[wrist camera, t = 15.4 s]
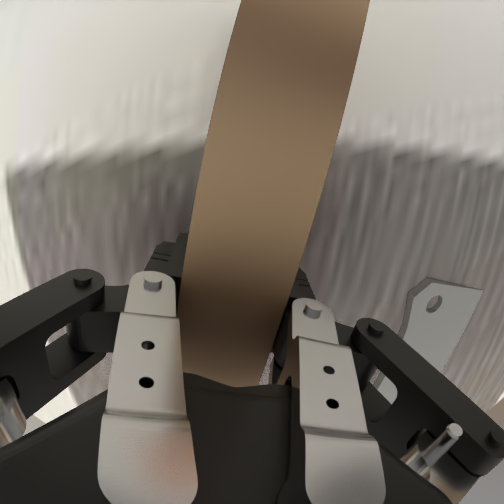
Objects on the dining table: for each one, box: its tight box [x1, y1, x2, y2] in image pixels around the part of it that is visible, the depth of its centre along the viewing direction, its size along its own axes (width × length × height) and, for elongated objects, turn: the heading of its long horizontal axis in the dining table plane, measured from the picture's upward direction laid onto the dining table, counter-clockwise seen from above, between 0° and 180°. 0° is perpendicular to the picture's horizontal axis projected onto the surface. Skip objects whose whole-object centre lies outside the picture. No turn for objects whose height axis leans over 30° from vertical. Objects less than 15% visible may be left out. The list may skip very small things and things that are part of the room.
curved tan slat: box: [176, 0, 370, 387], centre depth 12 cm, size 22×3×6 cm, turn 167°
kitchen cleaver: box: [373, 278, 483, 404], centre depth 24 cm, size 24×1×10 cm
